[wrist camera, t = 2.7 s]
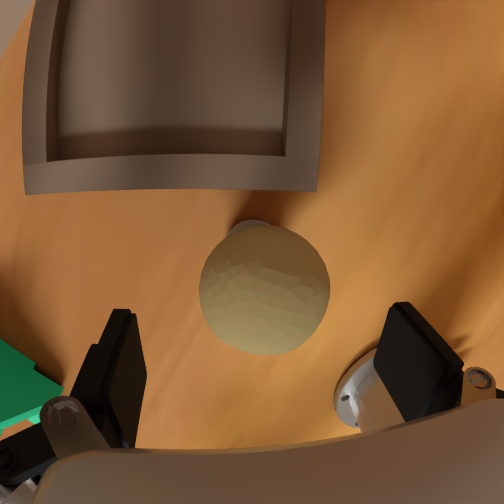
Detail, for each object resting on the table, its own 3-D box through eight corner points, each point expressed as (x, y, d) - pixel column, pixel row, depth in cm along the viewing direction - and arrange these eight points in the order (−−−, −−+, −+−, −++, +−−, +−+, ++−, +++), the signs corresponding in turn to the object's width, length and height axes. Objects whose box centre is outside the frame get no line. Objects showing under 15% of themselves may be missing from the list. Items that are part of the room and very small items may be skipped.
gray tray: (293, -19, 16) (323, -70, 9) (285, 171, 21) (316, 192, 14) (93, -12, 14) (50, -53, 8) (80, 173, 19) (25, 195, 13)
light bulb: (223, 184, 21) (225, 230, 11) (311, 215, 22) (372, 279, 13) (193, 269, 23) (179, 362, 13) (276, 294, 24) (307, 389, 15)
